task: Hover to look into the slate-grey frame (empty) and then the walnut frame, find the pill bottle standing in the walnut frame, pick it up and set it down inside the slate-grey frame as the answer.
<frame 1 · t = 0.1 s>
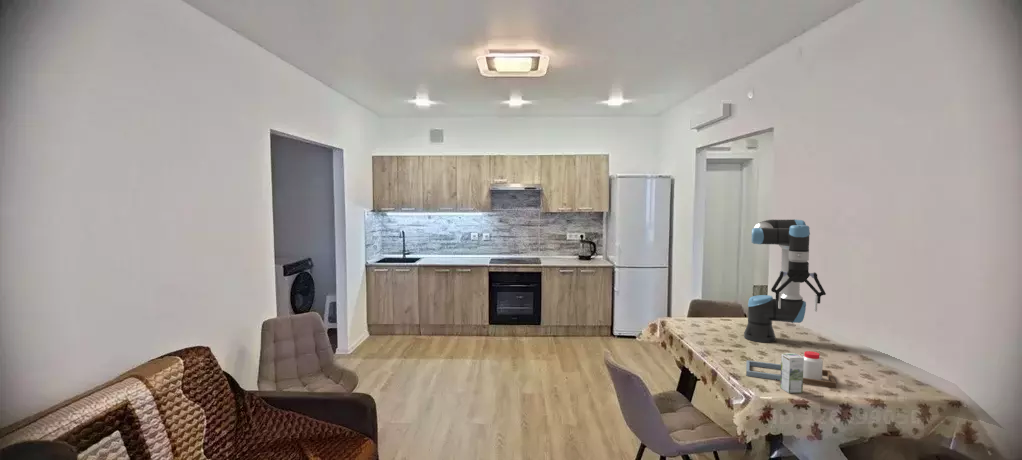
hand: (797, 309, 209), 28 cm above the table, fingers open, 13 cm apart
pill bottle: (811, 379, 204), resting in walnut frame
walnut frame: (811, 378, 204), on the table
syrup box: (791, 391, 191), on the table
slate frame: (765, 372, 211), on the table
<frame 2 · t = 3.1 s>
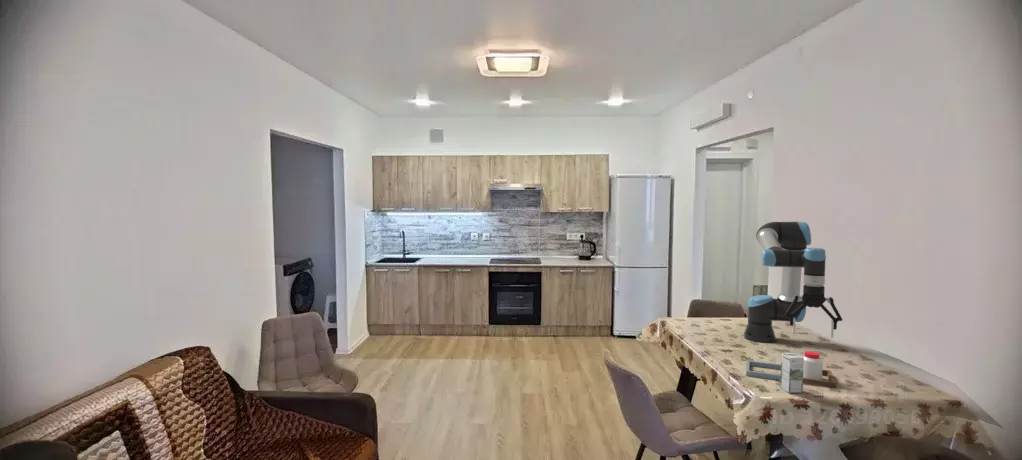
hand: (812, 335, 203), 19 cm above the table, fingers open, 13 cm apart
nothing on the table moved.
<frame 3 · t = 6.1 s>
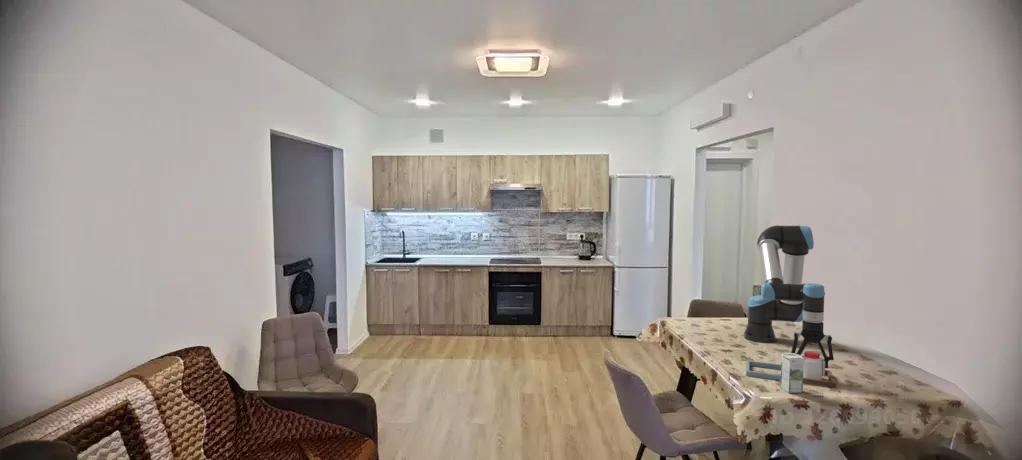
hand: (811, 373, 204), 2 cm above the table, fingers closed on pill bottle, 8 cm apart
pill bottle: (811, 378, 204), resting in walnut frame, touching gripper
everything else where it was.
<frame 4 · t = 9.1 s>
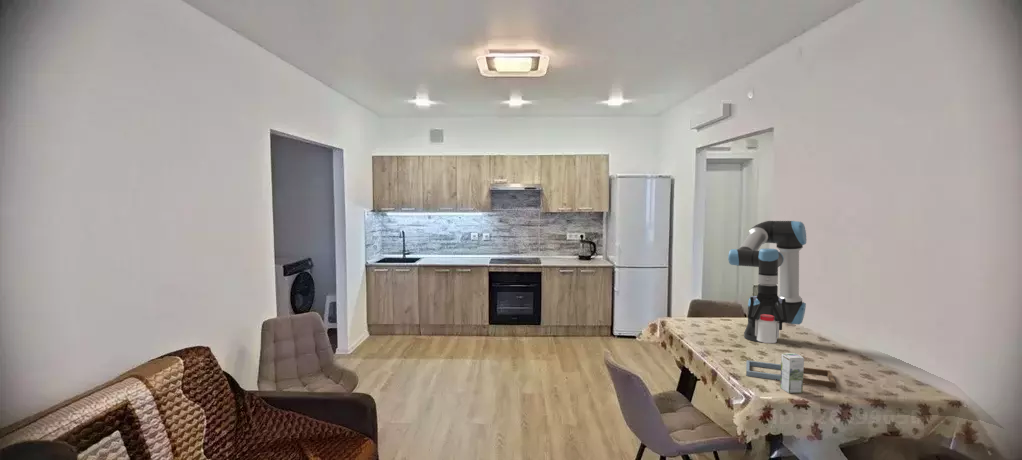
hand: (766, 336, 210), 16 cm above the table, fingers closed on pill bottle, 8 cm apart
pill bottle: (766, 341, 210), point 14 cm above the table, touching gripper
everything else where it was.
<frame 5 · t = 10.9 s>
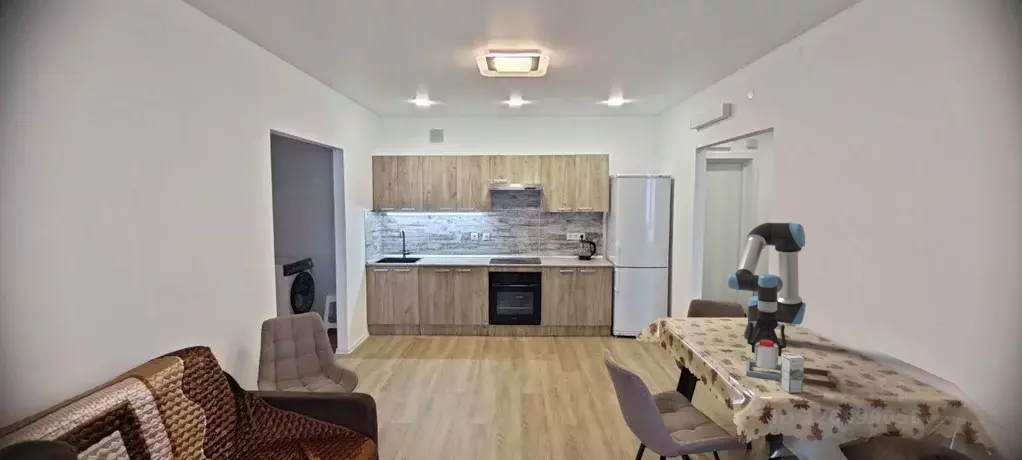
hand: (766, 361, 211), 5 cm above the table, fingers closed on pill bottle, 8 cm apart
pill bottle: (765, 366, 211), point 3 cm above the table, touching gripper
everything else where it was.
when the fingers open (4 cm above the table, at t = 12.1 s): pill bottle drops 2 cm, resting in slate frame.
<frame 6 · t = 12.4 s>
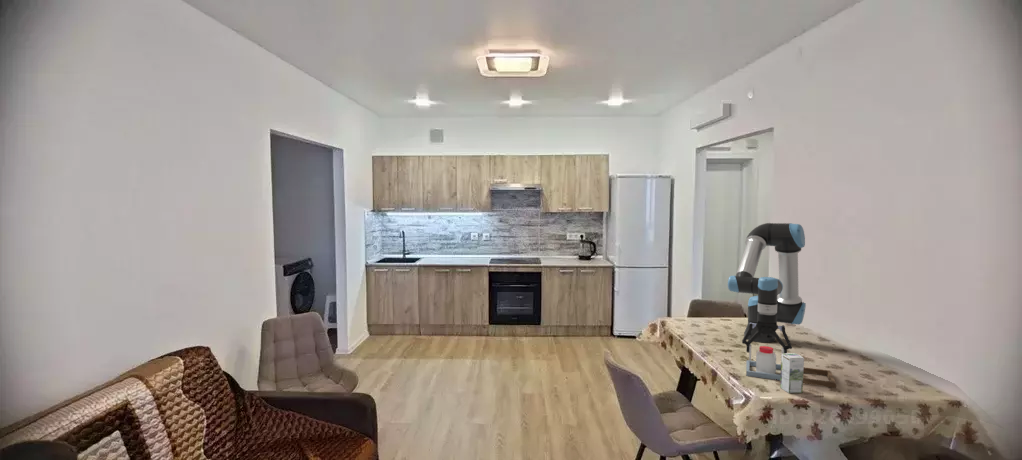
hand: (766, 361, 211), 5 cm above the table, fingers open, 12 cm apart
pill bottle: (765, 372, 211), resting in slate frame
everything else where it was.
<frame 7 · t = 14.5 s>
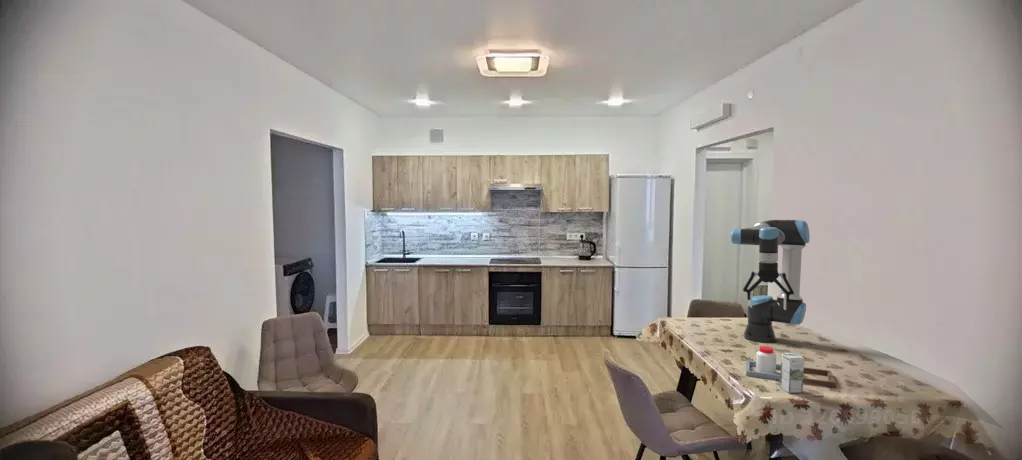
hand: (767, 308, 218), 27 cm above the table, fingers open, 13 cm apart
nothing on the table moved.
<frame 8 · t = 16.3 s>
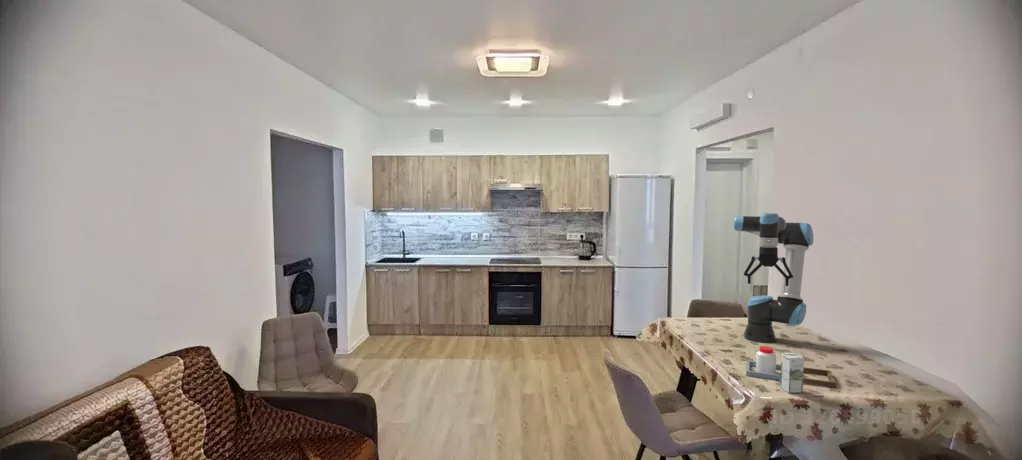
hand: (767, 291, 224), 33 cm above the table, fingers open, 13 cm apart
nothing on the table moved.
at the end: pill bottle inside the target area on the slate frame (0.0 cm from its centre), point 0.0 cm above the slate frame's base; pill bottle tilted 0°; the gripper is holding nothing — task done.
